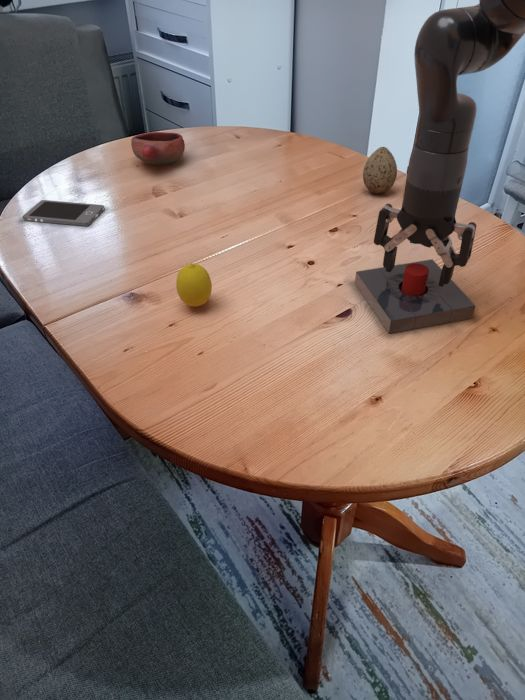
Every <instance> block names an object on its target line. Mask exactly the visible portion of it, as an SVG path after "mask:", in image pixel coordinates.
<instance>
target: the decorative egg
mask: <svg viewBox="0 0 525 700" xmlns="http://www.w3.org/2000/svg"><path fill="white" fill-rule="evenodd" d="M362 170H363V171H362V180H363V184H364V187H366V189H367V190H368V191H369V192H371V193H373V194H377V195H380V194H385V193H386V192H388V191H390V189H391V188H392V187H393V186H394V184H395V182H396V180H397V176H398V165H397V162H396V159H395V156H394V155H393V154H392V152H391V151H390V149H389V148H388V147H386V146H379V147H378V148H377V149H376V150H374V151H373V152H372V153H371V155H369V157H368V158H367V160H366V162H365V163H364V166H363V169H362Z"/></svg>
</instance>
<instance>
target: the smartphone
mask: <svg viewBox="0 0 525 700" xmlns="http://www.w3.org/2000/svg"><path fill="white" fill-rule="evenodd" d="M103 211H105V205H104V204H95V203H85V202H84V203H83V202H72V201H71V202H70V201H60V200H48V199H42V200H40V201H38V202H37V203H36V204H35V205H34V206H32V208H30V209H29V210H28V211H26V213H24V214H23V215H22V216H21V217H22V220H23V221H29V222H40V223H50V224H58V225H59V224H60V225H70V226H71V225H72V226H82V227H88V226H90V225H91V224H92V223H93V222H94V221H95V220H96V219H97V218H98V216H100V215H101V214H102V213H103Z"/></svg>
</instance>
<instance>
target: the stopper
mask: <svg viewBox="0 0 525 700" xmlns="http://www.w3.org/2000/svg"><path fill="white" fill-rule="evenodd" d="M428 274H429V269H428V268H427V267H426V266H425V265H422V264H418V263H413V264H409V265H407V266H406V268H405V273H404V278H403V284H402V290H401V292H402V293H404V294H406V295H410V296H422V295H424V292H425V288H426V283H427V278H428Z"/></svg>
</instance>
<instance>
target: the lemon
mask: <svg viewBox="0 0 525 700" xmlns="http://www.w3.org/2000/svg"><path fill="white" fill-rule="evenodd" d="M175 282H176V284H175V285H176V286H175V287H176V292H177V295H178V297H179V300H180V301H182V303H184V304H185V305H187V306H190V307H195V308H198V307H200V306H202V305H205V304H206V303H207V302H208V301H209V299H210V298H211V295H212V289H213V284H212V280H211V277H210V274H209V272H208V270H207V269H206V268H205V267H204V266H202V265H200V264H198V263H188V264H185V265H184V266H182V268H180V270H179V271H178V273H177V276H176V281H175Z"/></svg>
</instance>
